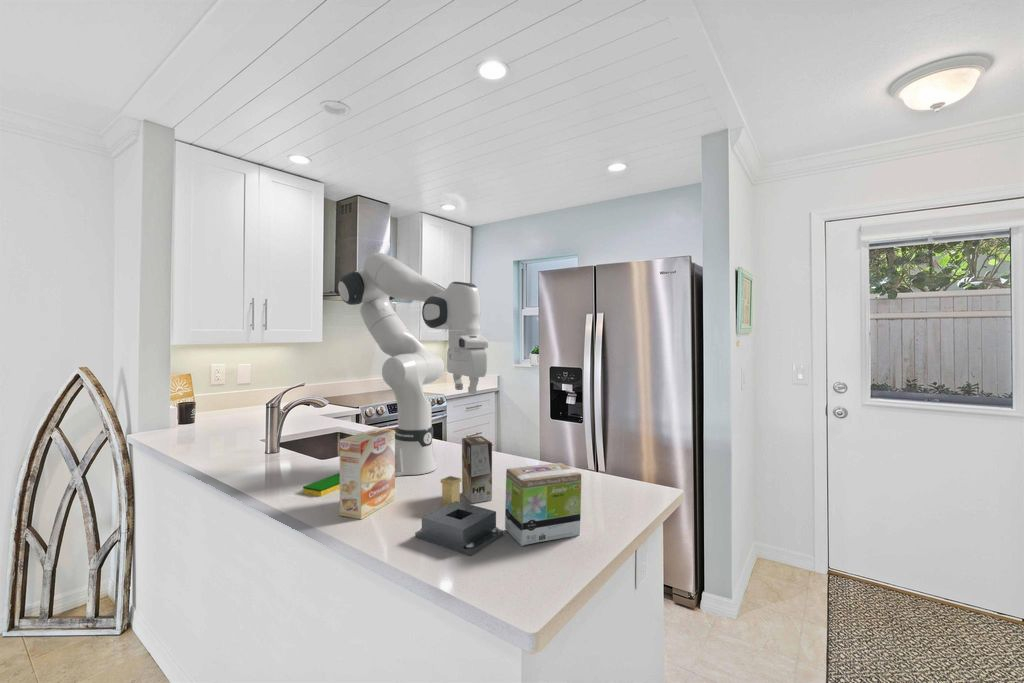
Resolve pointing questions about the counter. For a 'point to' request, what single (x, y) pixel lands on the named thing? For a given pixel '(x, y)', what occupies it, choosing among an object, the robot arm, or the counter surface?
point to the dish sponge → (323, 486)
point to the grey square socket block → (460, 527)
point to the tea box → (542, 503)
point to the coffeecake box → (367, 472)
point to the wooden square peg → (450, 490)
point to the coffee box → (477, 469)
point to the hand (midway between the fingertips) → (465, 391)
